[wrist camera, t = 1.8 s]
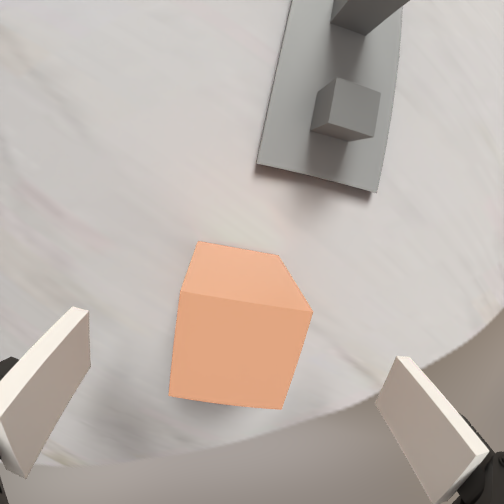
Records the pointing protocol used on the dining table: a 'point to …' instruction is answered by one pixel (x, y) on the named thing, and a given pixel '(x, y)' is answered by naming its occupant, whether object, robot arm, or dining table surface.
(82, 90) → the dining table surface
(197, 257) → the orange block
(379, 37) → the stand
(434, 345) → the dining table surface
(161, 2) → the dining table surface
